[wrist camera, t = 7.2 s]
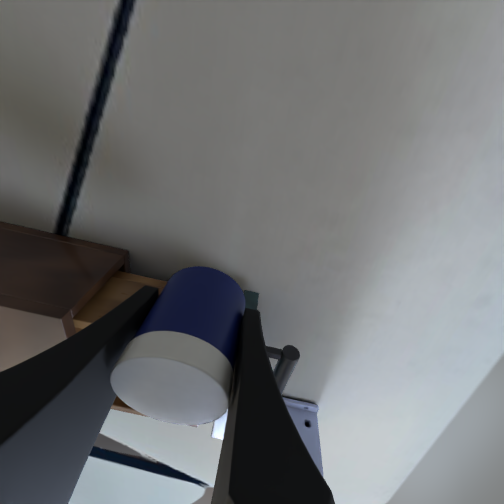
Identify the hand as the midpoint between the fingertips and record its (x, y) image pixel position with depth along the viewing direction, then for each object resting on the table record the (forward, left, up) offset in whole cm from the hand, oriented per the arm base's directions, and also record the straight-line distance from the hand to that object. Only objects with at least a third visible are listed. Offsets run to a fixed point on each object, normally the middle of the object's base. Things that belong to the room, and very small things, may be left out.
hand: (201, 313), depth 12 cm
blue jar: (0, 0, -1) cm, 1 cm away
